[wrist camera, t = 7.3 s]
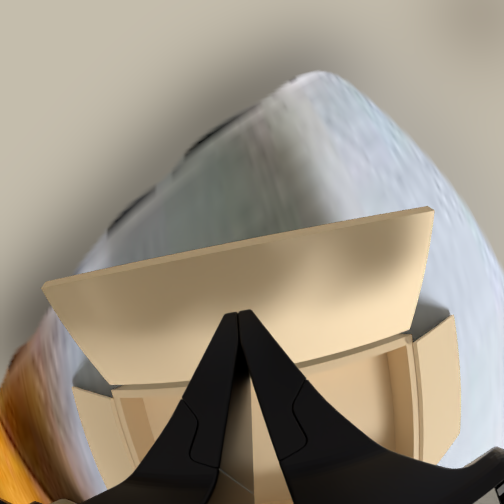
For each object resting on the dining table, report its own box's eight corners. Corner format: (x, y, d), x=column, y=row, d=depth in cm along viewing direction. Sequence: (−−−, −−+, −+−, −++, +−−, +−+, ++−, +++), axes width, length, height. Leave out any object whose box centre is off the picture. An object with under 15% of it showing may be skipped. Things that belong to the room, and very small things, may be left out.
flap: (409, 329, 13) (434, 210, 9) (110, 384, 13) (41, 288, 9) (405, 323, 13) (427, 206, 10) (111, 378, 13) (45, 281, 10)
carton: (454, 465, 13) (476, 479, 10) (129, 525, 13) (113, 545, 9) (450, 308, 17) (480, 304, 13) (72, 380, 17) (42, 387, 13)
